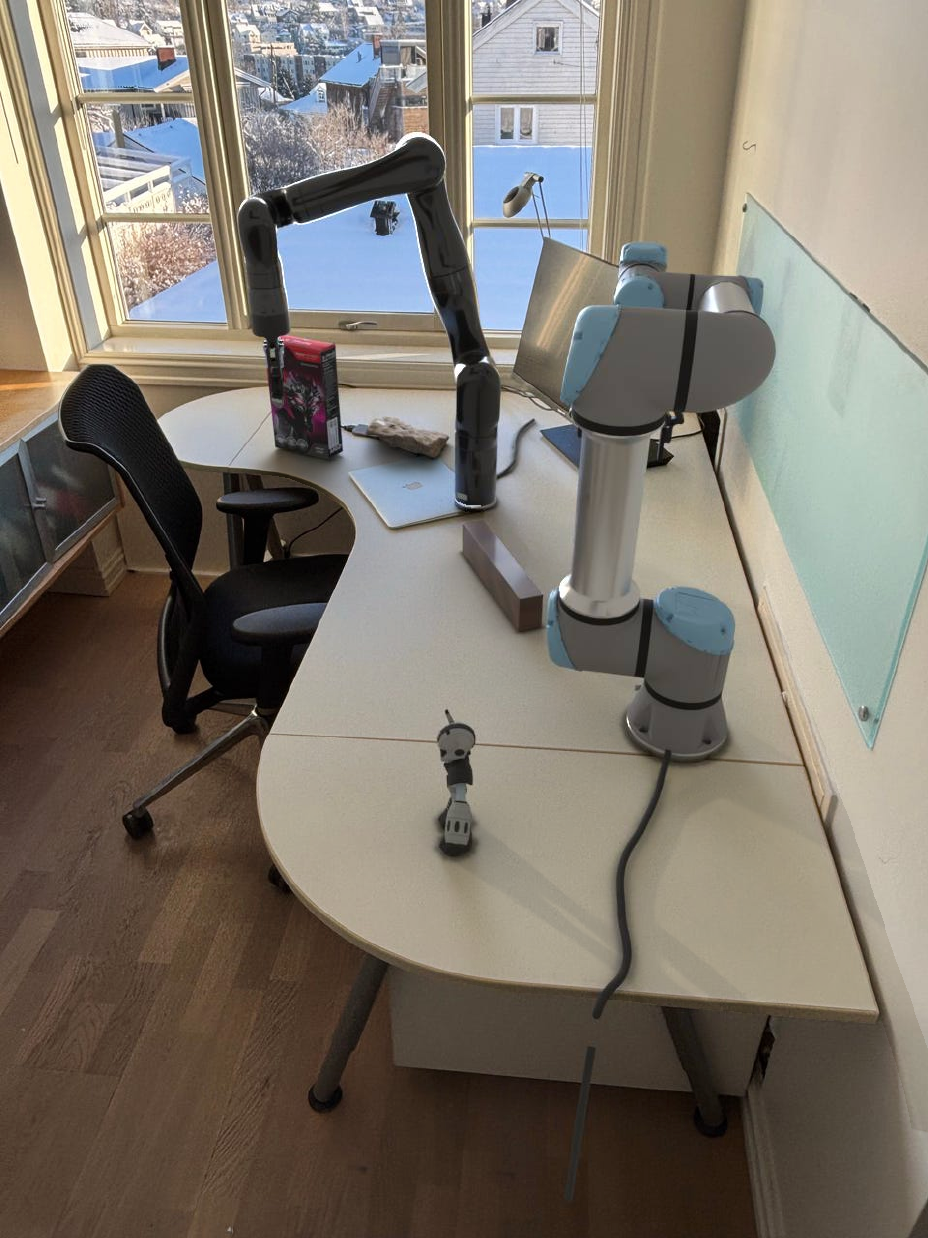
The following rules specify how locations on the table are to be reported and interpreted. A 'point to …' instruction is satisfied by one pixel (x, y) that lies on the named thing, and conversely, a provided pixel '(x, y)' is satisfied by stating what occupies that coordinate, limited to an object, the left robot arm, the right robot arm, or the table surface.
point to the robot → (456, 785)
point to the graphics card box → (308, 399)
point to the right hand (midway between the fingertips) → (621, 456)
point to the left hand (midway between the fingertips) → (278, 389)
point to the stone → (407, 436)
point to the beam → (503, 576)
